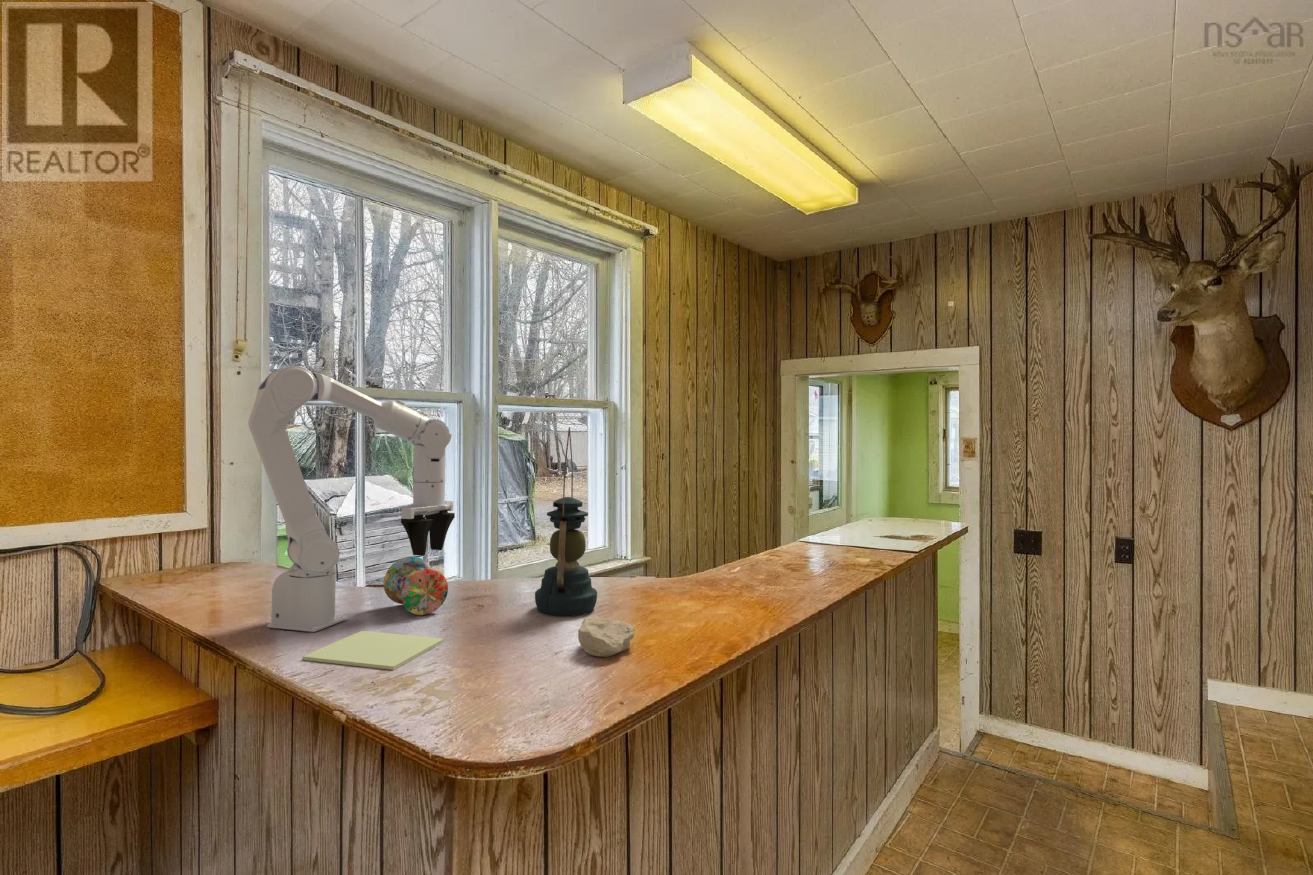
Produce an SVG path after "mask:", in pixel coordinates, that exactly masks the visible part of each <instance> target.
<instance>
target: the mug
mask: <svg viewBox="0 0 1313 875" xmlns="http://www.w3.org/2000/svg"><path fill="white" fill-rule="evenodd" d="M383 589H384V592H385V594H386V596H387V598H389V600H391V601H392V602H393V603H395V604H401V605H403V607H404V608H405V610H406V611H407V612H409V613H410V614H413V615H417V616H426V615H429V614H432V613H434V612H436V611H437V610H438V609H439V608H441V606H442V605H443V604H444V602H445V600H446V599H447V596H448V593H449V584H448V581H447V578H446V577H445V575H444V574H443V573H442V572H440V571H439V570H438V569H437V570H436V569H433V568H431V566H430V564H429V563H428V562H427V561H426V560H425V559H423V558H421V557H419V556H415V555H413V556H405V557H402V558H400V559H398V560H396V561H395V562H393V564H391V565H390V567H388V569H387V570H386V572H385V575H384V578H383Z"/></svg>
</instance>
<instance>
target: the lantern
mask: <svg viewBox="0 0 1313 875" xmlns="http://www.w3.org/2000/svg"><path fill="white" fill-rule="evenodd" d="M566 439H567V441H566V449H565V458H564V466H563V467H564V468H563V487H562V490H563V492H562V497H561V498H559V499H556V500H554V501H553V502H552V507H553V508H556V509H554V510H551V511H548V512H546V516H548V517H549V521H550V523H553V527H554V528H555V529H557V530H556V531H554V532H553V533H552V534H551V537H550V540H549V551H550V555H551V556H552V557H553V558H554V559H555V560H557V562H556V564H555V565H554V566H551V567H548V568H546V569H545V570H544V576H543V577H542V579H541V584H540V587H539V588H537V590H535V592H534V602H535V606H536V608H537V612H539V613H540V614H542V615H546V616H550V617H560V618H561V617H562V618H564V617H566V618H567V617H569V618H570V617H578V616H583V615H587V614H589V613H591V612H593V610H594V609H595V606H596V604H597V602H598V601H597V599H598V591H597V589H596V588H594V587H593V585H592V578H591V576H590V574H589V569H588V568H586V567H583V566H580V563H579V562H578V560H580V559H581V558H582V557H583V556H584V554H585V553H586V548H587V547H586V537H585V534H584V533H583V531H581V530H578V529H579V528H581V526H582V523H584V522H585V521H586V517H588V516H589V512H587V511H584V510H581V509H579V508H581V507H583V501H581V500H579V499H577V498H574V496H573V495H574V490H573V488H574V486H573V485H574V480H573V479H574V469H573V468H574V466H573V450H572V435H571V427H570V426H569V427H568V430H567V438H566ZM568 448H570V462H571V463H570V464H571V492H570V493H571V496H565V494H566V493H565V488H566V468H567V460H568V457H567V456H568V451H569V450H568Z"/></svg>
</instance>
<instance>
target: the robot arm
mask: <svg viewBox="0 0 1313 875" xmlns="http://www.w3.org/2000/svg"><path fill="white" fill-rule="evenodd" d="M308 402H330V403H333V404H335V405H338V406H341V407H343V408H345V409H349V410H351V411H353V412H355V413H358V414H361V415H363V416H366V417H368V418H371V419H372V420H373V422H374V425H375V427H376V428H377V429H378V430H381V431H383V432H385V433H388V434H391V435H393V436H395V437H398V438H400V439H402V440H405V441H406V442H410V443H411V444H412V445H413V446H414V447H413V448H414V452H413V455H414V456H413V489H412V490H413V491H412V492H413V493H412V494H413V495H412V497H413V498H412V504H411V505H407V506H405V507H401V514H400V515H401V518H400V523H401V525H402V526H403V528H404V530H405V532H406V534H407V536H408V537H407V538H408V540H409V543H410V547H411V548H410V549H411V552H412V555H413V556H418V557H419V556H421V557H423V556H425V555H426V552H427V544H428V538H429V545H430V549H431V550H432V551H443V548H444V545H445V542H446V537H447V534H448V531H449V528H450V526H451V524H452V522H453V521H454V519H455V517H456V516H455V512H453V511H454V501H452V500H445V498H446V497H445V496H446V494H445V492H446V448H447V446H448V445H449V444H450V442H451V439H452V433H450V430H449V427H448V426H447V424H446V423H445V422H444V421H443V420H440V419H435V418H432V419H429V417H428V415H429V413H428V412H425V411H422V412H419V411H416V410H414V409H412V408H410V407H408V406H406V405H405V404H406V402H405V401H402V400H400V399H396V400H392V399H388V400H386V401H384V402H381V401H379V400H377V399H374V398H373V397H371V396H368V395H367V394H364V393H363V392H360V391H358V390H356V389H355V388H352V387H350V386H348V385H346V384H345V383H342V382H341V381H338V380H336V379H334V378H332V377H330V376H327V375H324V374H322V373H319V372H315V371H310V370H309V369H307V368H306V367H303V366H299V365H288V366H285V367H283V368H281V369H276V370H274V371H272V372H271V373H269V374H268V375H267V376H266V377H265V379H264V380H263V381H262V382H261V383H260V384H259V386H258V387H257V391H256V396H255V399H254V403H253V406H252V409H251V412H250V415H249V419H248V428H249V431H250V433H251V436H252V439H253V441H254V444H255V446H256V448H257V452H258V455H259V457H260V459H261V462H262V464H263V468H264V470H265V472H266V476H267V478H268V481H269V484H270V486H271V489H272V492H273V495H274V497H275V499H276V502H277V505H278V508H279V511H280V513H281V516H282V518H283V521H284V525H285V533H286V535H287V536H286V537H287V541H288V544H287V547H286V549H287V552H286V553H287V557H288V559H289V561H291V563H293V564H292V565H291V567H289V569H288V571H284V572H282V573H280V574H279V575H278V576H277V577H276V578H275V580H274V582H273V584H272V588H271V612H270V613H271V615H270V617H271V622H270V623H268V624H267V625H266V626H267V628H270V629H281V630H291V631H299V632H309V633H310V632H312V633H315V632H317V631H321V630H323V629H326V628H328V627H330V626H333V625H336V624H338V623H342V622H343V621H346V620H347V619H348V618H347V616H342V615H336V584H337V582H336V579H337V576H336V575H337V568H336V567H335V566H336V565H337V563H338V561H339V559H340V549H339V545H338V544H337V543H336V542H335V540H334V539H332V538H331V537H330V536H329V535H328V533H327V531H326V528H325V526H324V525H323V523H322V522H321V520H320V518H319V516H318V515H317V512H316V509H315V506H314V504H313V501H312V498H311V495H310V492H309V490H308V487H307V484H306V482H305V478H304V476H303V474H302V470H301V468H300V465H299V463H298V459H297V457H296V454H295V451H294V449H293V446H292V444H291V440H290V438H289V435H288V433H287V430H286V427H287V425H288V423H289V422H290V421H291V419H292V418H293V416H294V415H295V413H296V412H297V410H299V409H300V408H301V407H303V406H304V405H305V404H307V403H308ZM428 536H429V537H428Z"/></svg>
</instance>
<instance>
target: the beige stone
mask: <svg viewBox="0 0 1313 875" xmlns="http://www.w3.org/2000/svg"><path fill="white" fill-rule="evenodd" d="M634 631H635V626H633V625H632V624H630V623H628V622H625V621H623V620H619V619H617V618H615V619H614V618H611V617H608V616H601V615H589V616H586V617H584V619H583V621H582V623H581V625H580V628H578V630H577V633H578V634H577V636H578V639H577V640H578V643H579V644H580V647H581V648H582V649H583V651H585V652H586V653H587V654H589V655H590V656H591V655H592V656H595V657H602V658H605V657H606V658H607V657H610V656H614V655H616V654H618V653H620V652H624V651H626V650H627V649H628V648H629V647H630V646H631V643H630V642H631V640H632V639H634V637H635V632H634Z"/></svg>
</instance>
